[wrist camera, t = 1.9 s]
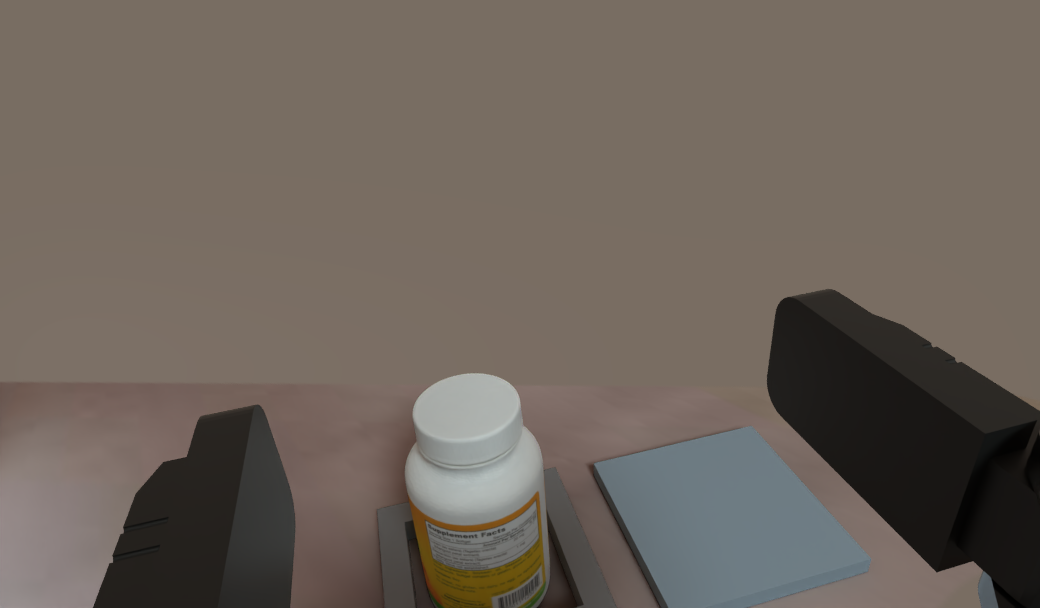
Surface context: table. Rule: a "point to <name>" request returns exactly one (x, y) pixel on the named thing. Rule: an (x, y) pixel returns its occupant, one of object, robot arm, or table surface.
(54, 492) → the table surface
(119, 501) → the table surface
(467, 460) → the supplement bottle
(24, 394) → the table surface
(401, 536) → the collar
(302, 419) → the table surface
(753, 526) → the board
